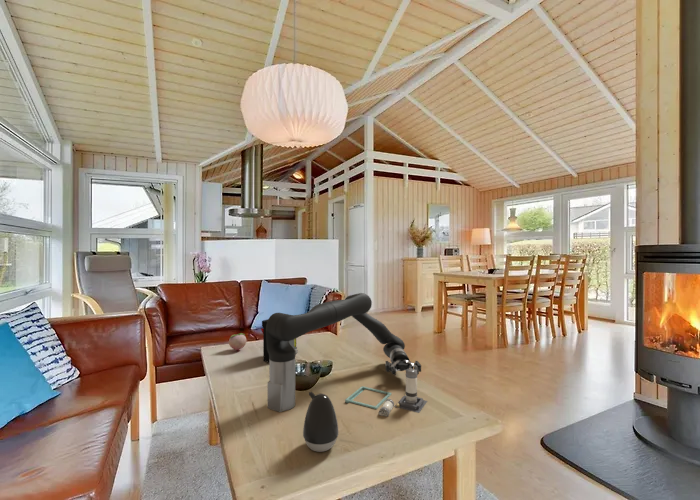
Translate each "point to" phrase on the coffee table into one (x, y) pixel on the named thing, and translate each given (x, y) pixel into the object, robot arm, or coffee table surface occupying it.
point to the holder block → (411, 407)
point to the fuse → (386, 408)
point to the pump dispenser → (320, 423)
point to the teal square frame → (356, 393)
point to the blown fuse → (411, 386)
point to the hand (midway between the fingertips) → (406, 373)
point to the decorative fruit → (237, 341)
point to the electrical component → (265, 352)
